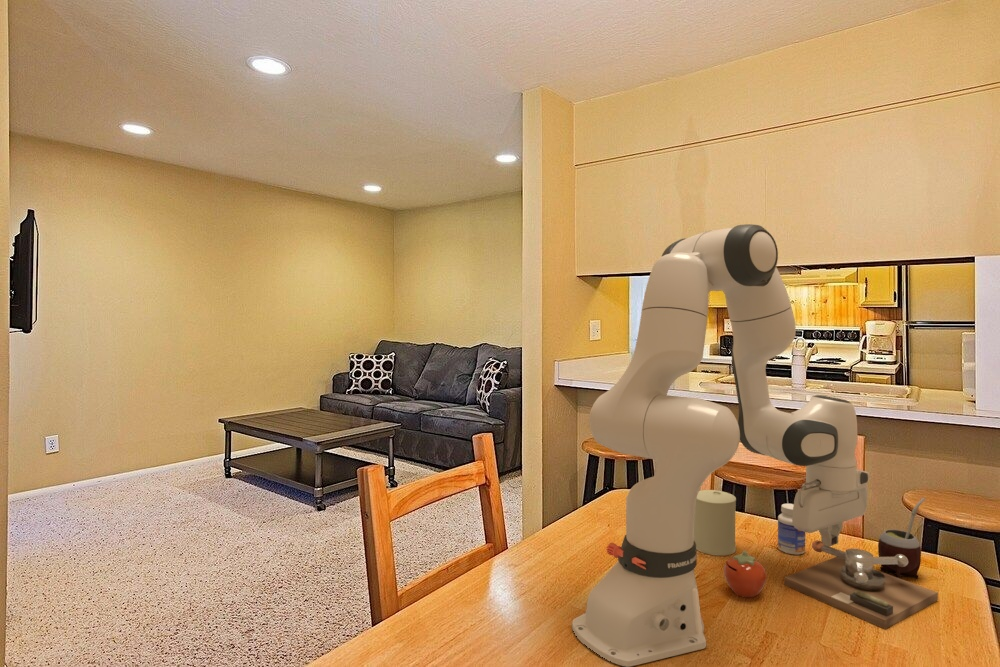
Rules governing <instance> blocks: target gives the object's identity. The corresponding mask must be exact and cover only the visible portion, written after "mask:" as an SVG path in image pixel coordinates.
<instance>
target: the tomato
mask: <svg viewBox="0 0 1000 667" xmlns="http://www.w3.org/2000/svg"><path fill="white" fill-rule="evenodd" d="M723 575H724V578H725V581H726V583H727V585H728V587H729V588H730V589H731V591H732V592H733V593H734V594H735V595H736V596H738V597H742V598H746V599H747V598H753V597H756V596H757V595H759V594H760V592H762V590H763V589H764V587H765V586H766V585H765V584H766V582H767V570H766V568H765V566H763V565H762V563H761V562H759V561H758V560H756V557H754V556H752V555H749V554H748V552H747V550H743V551H742V553H741V554H737V555H734V556H732V557H731V558H729V559H728V560H726V562H725V563H724V567H723Z"/></svg>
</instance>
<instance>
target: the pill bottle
mask: <svg viewBox="0 0 1000 667" xmlns="http://www.w3.org/2000/svg"><path fill="white" fill-rule="evenodd" d="M793 506H794V503H783V504H781V507H780V511H781V513H780V514H779V515H778V516H777V548H778V549H779V550H780V552H781V551H782V552H783V553H785V554H789V555H799V556H800V555H803V554H804V553H805V552H806V532H804V531H801V530H798V529H796V528H795V527H794V525H793V523H792V517H793Z"/></svg>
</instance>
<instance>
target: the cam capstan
mask: <svg viewBox="0 0 1000 667" xmlns="http://www.w3.org/2000/svg"><path fill="white" fill-rule="evenodd" d="M811 547H812V550H814V551H815V552H816V553H822V552H823V553H826V554H828V555H831V556H834V557H839V558H842V559H845V566H843V567H841V579H842V581H844V582H845V583H847V584H848V585H850V586H853V587H856V588H859V589H864V590H872V591H876V590H882V589H884V587H885V576H884V575H883V574H882V573H881V572H882V571H880V570H877V569H875V568H874V566H875V565H880V566H881V565H883V564H897V565H898V566H900V567H905V566H906V565H907V564H908V559H907V557H906V556H904V555H902V554H897V555H896V556H895V557H879V556H874V555H873V553H871V552H869V551H868V550H863V549H860V548H847V549H846V550H845V551H843V550H840V549H837V548H835V547H832V546H830V547H829V546H826V545H824V544H823V543H822V542H821V540H814V541H813V542H812V544H811ZM879 571H880V572H879Z"/></svg>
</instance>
